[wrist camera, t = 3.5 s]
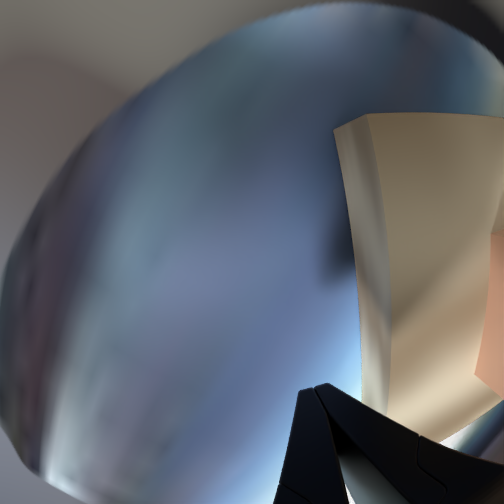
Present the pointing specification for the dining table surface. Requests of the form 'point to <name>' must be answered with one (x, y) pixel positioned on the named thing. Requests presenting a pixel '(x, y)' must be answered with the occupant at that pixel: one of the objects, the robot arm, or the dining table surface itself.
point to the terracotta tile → (494, 321)
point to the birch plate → (423, 260)
